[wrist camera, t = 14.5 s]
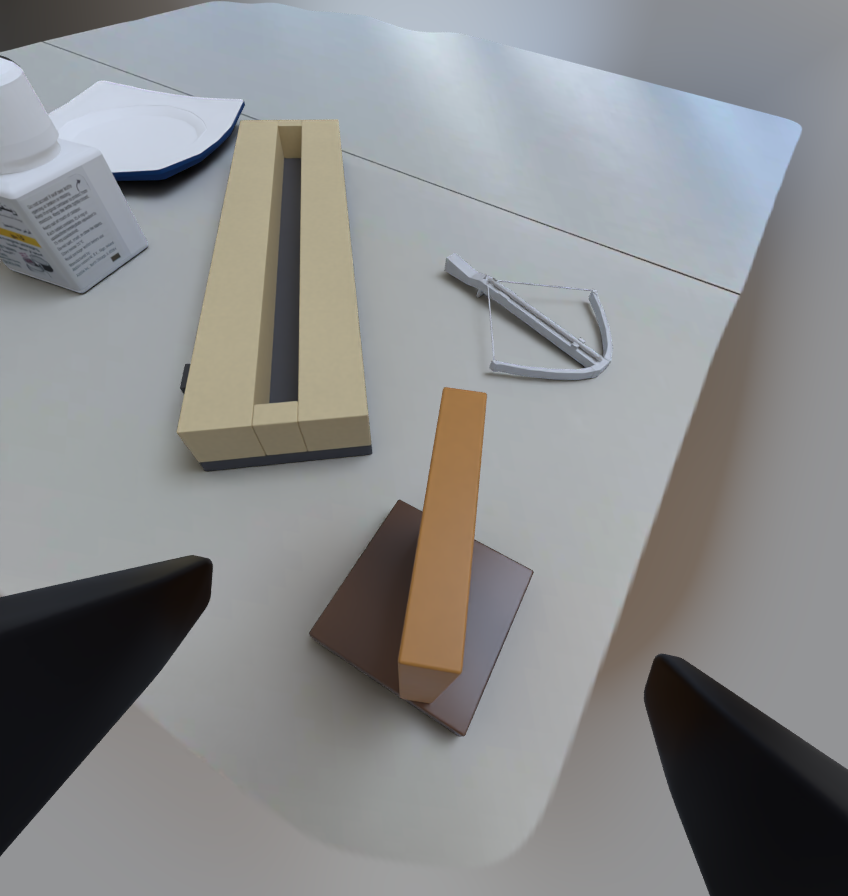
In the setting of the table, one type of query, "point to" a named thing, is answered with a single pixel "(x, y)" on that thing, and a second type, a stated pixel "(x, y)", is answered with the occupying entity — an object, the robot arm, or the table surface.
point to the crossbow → (538, 326)
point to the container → (57, 197)
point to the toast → (444, 552)
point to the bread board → (384, 607)
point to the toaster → (279, 310)
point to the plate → (146, 128)
